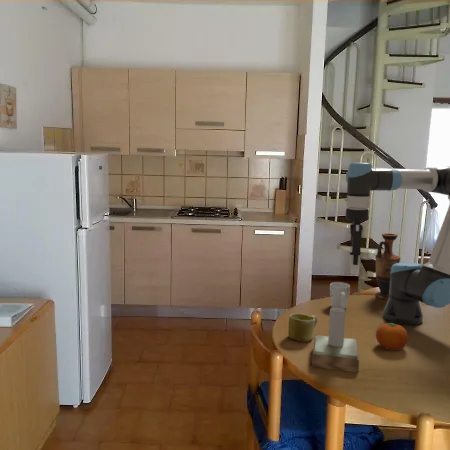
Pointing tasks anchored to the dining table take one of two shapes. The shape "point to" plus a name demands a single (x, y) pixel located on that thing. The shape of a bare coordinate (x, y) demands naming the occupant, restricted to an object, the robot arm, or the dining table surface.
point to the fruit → (392, 336)
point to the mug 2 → (339, 294)
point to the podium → (335, 355)
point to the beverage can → (336, 327)
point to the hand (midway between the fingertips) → (353, 269)
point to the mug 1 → (301, 327)
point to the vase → (385, 265)
